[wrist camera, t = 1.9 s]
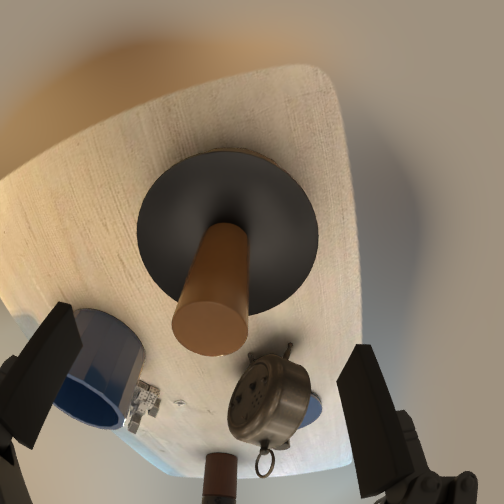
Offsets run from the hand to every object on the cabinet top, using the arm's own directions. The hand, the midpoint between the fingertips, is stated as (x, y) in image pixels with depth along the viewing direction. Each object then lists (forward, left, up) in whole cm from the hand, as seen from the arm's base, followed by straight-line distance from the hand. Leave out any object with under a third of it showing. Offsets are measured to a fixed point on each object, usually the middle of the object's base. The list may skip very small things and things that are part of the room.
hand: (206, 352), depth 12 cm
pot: (+10, -24, -16) cm, 31 cm away
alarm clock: (+19, -4, -17) cm, 25 cm away
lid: (0, 0, -11) cm, 11 cm away
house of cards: (+24, -25, -17) cm, 38 cm away
